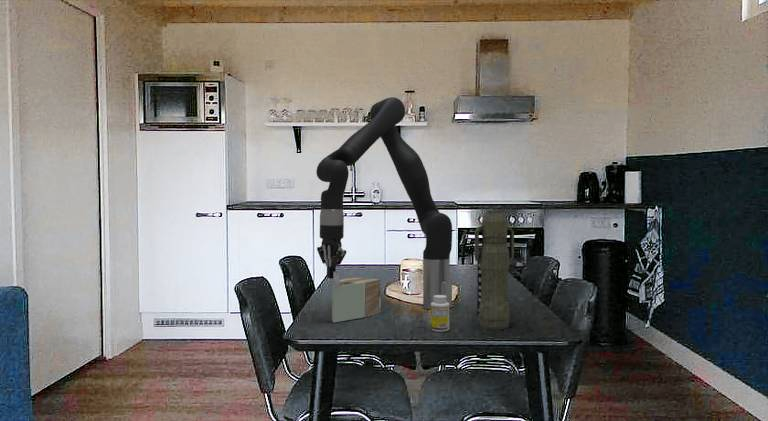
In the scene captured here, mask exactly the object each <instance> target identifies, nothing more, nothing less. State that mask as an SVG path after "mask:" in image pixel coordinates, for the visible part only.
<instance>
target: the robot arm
mask: <svg viewBox="0 0 768 421" xmlns="http://www.w3.org/2000/svg"><path fill="white" fill-rule="evenodd" d="M405 115H406V107H405V105H404V103H403V101H402V100H401V99H399V98H398V97H392V96H391V97H386V98H384V99H382V100H379V101H378V102H376V103H374V104H373V105H372V106H371V107H370V111H369V116H370V119H371V120H369V121H368V123H366V124H365V125H364V126H362V127H361V128H360V129H358V130H357V131H355V132H354V133H353V134H352V135H350V137H349V138H348V139H347V140H346V141H344V142H343V144H342V145H340V147H338V149H336V150H334V151H333V152H331V153H329V154H328V155H327V156H325V157H324V158H322V160H320V162H318V165H317V167H316V171H315V172H316V177H317V178H318V179H319V180H320V181H322V182H324V183H329V185H328V187H327V188H326V189H325V190H322V192H321V194H320V195H321V196H320V214H319V238H320V239H322V240H321V245H320V246H318V247H316V252H317V253H318V255H319V258H320V260H321V263H322V264H325V267H326V278H328V279H331V280H332V279H333V272H335V271H337V270H336V269H337V266H340V265H341V263H342V261H343V260H344V258H345V256H346V254H347V250H346V249H345V250H344V249H343V247H342V239H344V231H345V229H344V227H345V226H344V225H345V224H344V223H345V222H344V219H345V216H344V214H345V213H344V195H345V191H346V187H347V184H348V180H349V167H351V166H353V165H355V164H356V163H357V162H358V161H359V159H361V157H362V156H364V155H365V153H366V152H367V151H368V150H369V149H370V148H371V147H372V146H373V145H374V144H375V143H376V142H377V141H378V140H379V139H381V140H382V142H383V144H384V147H385V148H386V150H387V152H388V154H389V156H390V158H391V161H392V163H393V165H394V167H395V170H396V173H397V175H398V177H399V179H400V181H401V183H402V185H403V187H404V189H405V192H406V194H407V196H408V198H409V199H410V201H411V203H412V206H413V209H414V212H415V214H416V218H417V220H418V224H419V226H420V230H421V231H422V233H423V234H424V235H425V248H424V249H423V252H422V257H423V258H422V265H423V266H422V280H423V281H422V283H423V284H422V297H423V298H422V303H423V306H422V307H423V308H424V309H427V310H431V303H432V302H434V301H433V296H435V295H445V296H447V302H448V303H449V305H450V308H453V280H451V279H450V278H451V273H450V272H451V270H450V268H451V267H450V266H451V265H450V264H451V261H450V258H451V252H452V247H453V246H452V245H453V223H452V220H451V218H450V217H449V216H448V214H445V213H443V212H440V211H439V209H438V207H437V205H436V204H435V202H434V199H433V197H432V193H431V188H430V181H429V177H428V173H427V170H426V168H425V165H424V163H423V161H422V158H421V157H420V155H419V153H417V152H416V150H415V149H414V148H412V147H411V146H410V144H408V143H407V142H406V141H405V140H404V139H403V137H402V135H400V133H399V130H398V127H397V125H398V124H399V123H401V122H402V121H403V119H404V118H405Z"/></svg>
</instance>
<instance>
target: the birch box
mask: <svg viewBox="0 0 768 421" xmlns="http://www.w3.org/2000/svg"><path fill="white" fill-rule="evenodd" d="M381 281H382V280H381V279H375V278H364V277H363V278H362V277H353V276H352V277H351V276H350V277H347V278H346V277H344V278H341V279H339V285H347V284H355V283H363V282H364V283H365V318H367V316H368V317H370V315H371V316H373V315H377V314H380V313H382V312H381V311H382V305H381V304H382V303H381V302H382V299H381V298H382V295H381V294H382V292H381V288H382V285H381Z"/></svg>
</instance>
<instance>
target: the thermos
mask: <svg viewBox="0 0 768 421" xmlns="http://www.w3.org/2000/svg"><path fill="white" fill-rule="evenodd" d="M483 213H484V214H483V216H482V219H481V225H480V226H477V227H476V229H475V230H474V260H475V261H476V262H477V261H479V262H480V269H481V301H480V317H479V321H480V322H479V327H481V328H483V329H488V330H504V329H508V328H509V327H510V326H509V320H510V303H509V300H508V294H509V293H508V292H509V291H508V285H509V284H508V272H509V270H510V263H511V262H512V261H513V260H514V259H515V230H514V229H513V228H512V227H511V226H508V219H507V216H506V212H503V211H502V210H487V211H486V212H483ZM480 231H481V238H482V241H481V246H480ZM508 231H509V247H508V241H507V239H508V238H507V237H508ZM479 246H480V247H479ZM479 254H480V257H479Z"/></svg>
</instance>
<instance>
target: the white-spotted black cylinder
mask: <svg viewBox="0 0 768 421" xmlns="http://www.w3.org/2000/svg"><path fill="white" fill-rule="evenodd" d="M479 257H480V253H479ZM476 265H477V266H476V269H477V270H476V273H477V274H476V278H477V279H476V280H477V281H476V282H477V283H476V287H477V288H476V291H477V292H476V294H477V296H476V306H477V307H476V310H477V311H476V316H477V317H479V318H480V301H481V269H480V262H479V261H476Z"/></svg>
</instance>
